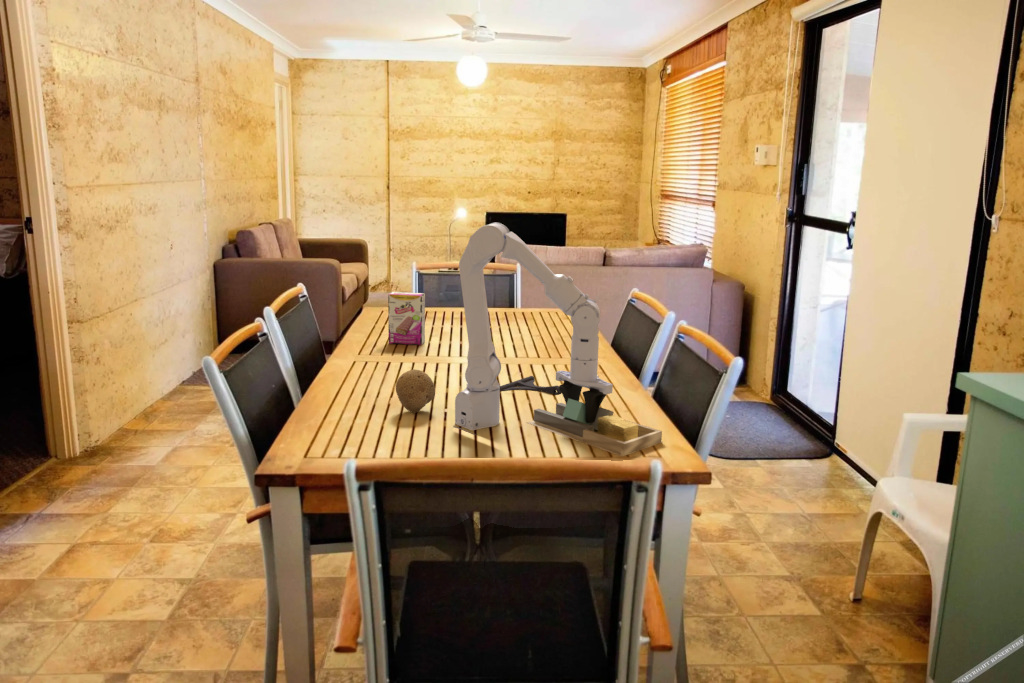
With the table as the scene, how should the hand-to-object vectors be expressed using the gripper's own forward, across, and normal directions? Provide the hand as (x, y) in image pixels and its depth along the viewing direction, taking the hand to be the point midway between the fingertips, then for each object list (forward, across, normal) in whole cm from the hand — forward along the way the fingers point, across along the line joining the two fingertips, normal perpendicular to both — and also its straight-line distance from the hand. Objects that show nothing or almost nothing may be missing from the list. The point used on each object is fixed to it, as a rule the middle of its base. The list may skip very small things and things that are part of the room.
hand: (581, 419), depth 166 cm
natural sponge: (+3, +35, +18) cm, 40 cm away
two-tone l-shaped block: (0, -2, -3) cm, 3 cm away
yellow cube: (+2, -12, 0) cm, 12 cm away
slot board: (+3, -3, 0) cm, 4 cm away
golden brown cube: (+2, -8, -1) cm, 8 cm away
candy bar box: (+3, +97, -23) cm, 100 cm away
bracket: (+4, +31, -17) cm, 35 cm away
